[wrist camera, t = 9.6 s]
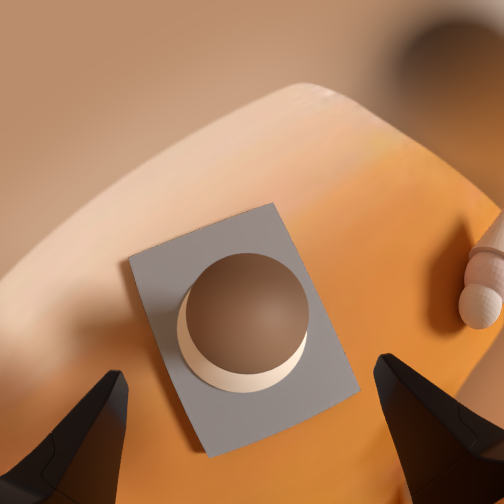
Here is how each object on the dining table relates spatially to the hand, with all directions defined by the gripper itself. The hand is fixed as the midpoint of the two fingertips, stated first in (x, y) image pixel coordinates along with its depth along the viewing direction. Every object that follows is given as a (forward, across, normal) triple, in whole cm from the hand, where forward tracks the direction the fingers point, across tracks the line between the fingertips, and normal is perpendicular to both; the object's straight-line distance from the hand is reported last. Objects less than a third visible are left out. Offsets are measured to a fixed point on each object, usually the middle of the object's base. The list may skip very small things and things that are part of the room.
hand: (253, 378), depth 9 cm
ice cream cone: (+13, -24, +4) cm, 28 cm away
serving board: (+10, 0, +7) cm, 12 cm away
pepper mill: (+9, 0, +6) cm, 11 cm away
